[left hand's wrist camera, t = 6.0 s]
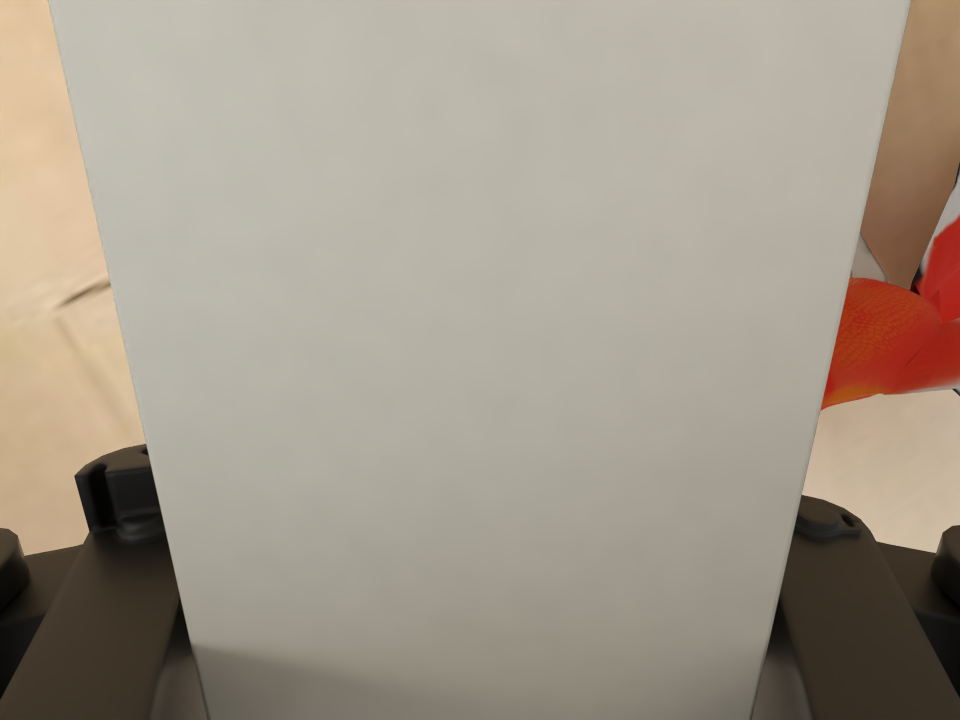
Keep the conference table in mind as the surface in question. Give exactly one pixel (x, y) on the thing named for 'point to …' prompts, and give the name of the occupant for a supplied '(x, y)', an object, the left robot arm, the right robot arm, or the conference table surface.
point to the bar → (479, 332)
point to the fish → (901, 322)
